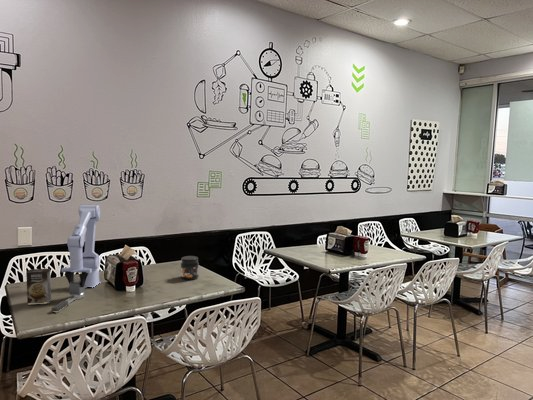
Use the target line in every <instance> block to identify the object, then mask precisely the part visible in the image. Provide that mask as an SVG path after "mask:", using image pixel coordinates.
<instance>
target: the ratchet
mask: <svg viewBox="0 0 533 400" xmlns="http://www.w3.org/2000/svg"><path fill="white" fill-rule="evenodd" d="M82 297H84V298H85V292H83V293H82V294H80V295H72V294H70V296H69V298H67V299H65V300H62V301H60V302H59V303H57V304H56V305H54V306H53V307H51V312H52V311H59V310H60V309H62V308H63V307H65V306H66V305H68V303H70V302H72V301H73V300H75V299H77V298H82ZM82 299H83V298H82ZM75 301H76V300H75ZM72 303H73V302H72ZM68 306H69V305H68Z"/></svg>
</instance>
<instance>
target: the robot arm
mask: <svg viewBox="0 0 533 400" xmlns="http://www.w3.org/2000/svg"><path fill="white" fill-rule="evenodd" d="M77 213H78V215H79V220H78V224H76V225H75V226H74V228H73V231H72V233H71V235H70V236H69V237H68V238H67V242H66V243H67V247H68V250H67V251H68V252H69V266H68V267H67V266H66V267H62V268H61V273H64V276H65V278H66V280H67V282H68V283H69V282H71V281H73V280H75V279H74V278H75V273H80V274H78V276H79V280H81V287H92V288H91V289H94V288H96V287H97V286H99V285H100V284H101V282H102V281H100V271H99V267H100V255H99V254H98V253H96V252H95V243H96V241H95V240H96V229H97V222H99V221H100V219H101V208H100V205H99V204H89V205H87V204H86V205H85V204H84V205H83V204H80V205H79V206H78V211H77ZM83 247H84V252H83ZM99 283H100V284H99ZM98 284H99V285H98ZM96 285H97V286H96ZM95 286H96V287H95ZM93 287H94V288H93Z"/></svg>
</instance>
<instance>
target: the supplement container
mask: <svg viewBox="0 0 533 400" xmlns="http://www.w3.org/2000/svg"><path fill="white" fill-rule="evenodd" d="M180 260H181V262H180V278H181V279H182V280H186V281H193V280H197V279H198V278H199V277H200V275H199V272H200V271H199V265H200V263H199V257H198V256H195V255H186V256H183V257H181V258H180Z"/></svg>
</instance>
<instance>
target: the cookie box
mask: <svg viewBox="0 0 533 400" xmlns="http://www.w3.org/2000/svg"><path fill="white" fill-rule="evenodd" d="M25 274H26V275H25V276H26V295H27V296H26V297H27V298H26V299H27V303H44V302H49V300H50V299H51V300H52V291H51V268H35V269H33V268H31V269H29V270H27V271H26V272H25ZM49 303H50V302H49Z"/></svg>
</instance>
